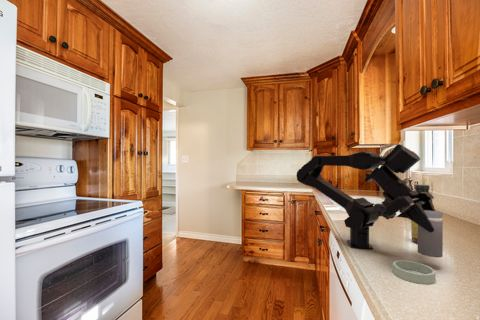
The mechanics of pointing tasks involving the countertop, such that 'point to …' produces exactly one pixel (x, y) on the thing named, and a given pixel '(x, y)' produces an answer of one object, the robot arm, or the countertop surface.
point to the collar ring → (414, 277)
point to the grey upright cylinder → (431, 236)
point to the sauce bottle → (413, 225)
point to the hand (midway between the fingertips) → (436, 229)
